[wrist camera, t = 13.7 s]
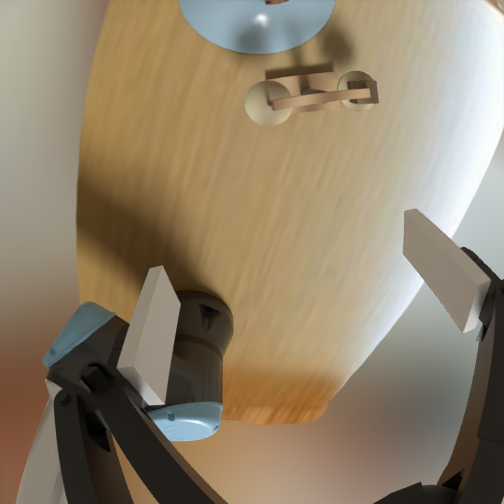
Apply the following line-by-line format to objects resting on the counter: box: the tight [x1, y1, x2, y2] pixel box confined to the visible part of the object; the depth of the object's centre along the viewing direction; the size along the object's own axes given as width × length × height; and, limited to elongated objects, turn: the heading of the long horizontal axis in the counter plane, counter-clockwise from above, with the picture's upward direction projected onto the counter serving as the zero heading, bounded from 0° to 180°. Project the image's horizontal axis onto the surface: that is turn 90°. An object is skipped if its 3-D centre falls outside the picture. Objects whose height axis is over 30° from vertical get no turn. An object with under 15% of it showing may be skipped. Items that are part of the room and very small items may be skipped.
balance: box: [245, 71, 379, 126], centre depth 30 cm, size 16×5×11 cm, turn 101°
